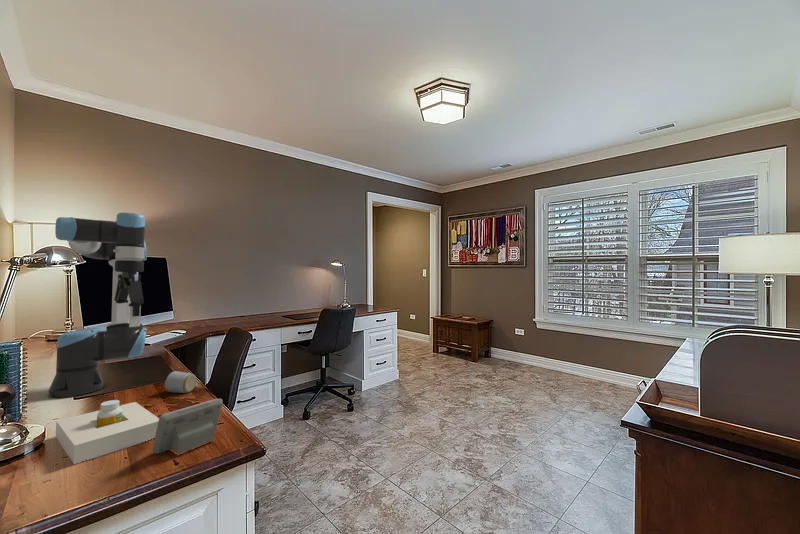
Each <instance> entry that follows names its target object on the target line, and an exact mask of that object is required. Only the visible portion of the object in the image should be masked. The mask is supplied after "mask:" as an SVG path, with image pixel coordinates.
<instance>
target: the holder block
mask: <svg viewBox="0 0 800 534" xmlns="http://www.w3.org/2000/svg"><path fill="white" fill-rule="evenodd" d="M118 407H120V408H121V409H122V422H119V423H115V424H111V425H108V426H104V427H100V428H97V414H98V413H99V412H100V411H101V409H100V410H96V411H91V412H87V413H83V414H80V415H75V416H71V417H70V416H69V417H67V418H63V419H58V420H55V421H56V422H55V438H56V440H57V441H58V443H59V445H60V446H61V447H62V449H63V450H64V452H65V453H66V454H67V457H68V458H69V460H70V461H71V462H72V464H73V465H77V464H80V463H83V462H82V461H84V462H86V461H85V460H87V461H89V459H90V460H92V459H96V458H99V457H102V456H104V455H108V454H112V453H114V452H118V451H120V450H124V449H127V448H129V447H133V446H136V445H140V444H142V442H143V443H145V441H146V442H148V440H149V441H151V439H152V440H154V439H153V438H155V435H156V430H157V425H158V421H159V418H160V417H158V416H156V415H155V414H153V413H152V412H150V411H149V410H147V409H146V408H145V407H144V406H143V405H141V404H139V403H137V401H134V402H129V403H125V404H121V405H120V404H119V406H118Z"/></svg>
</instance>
